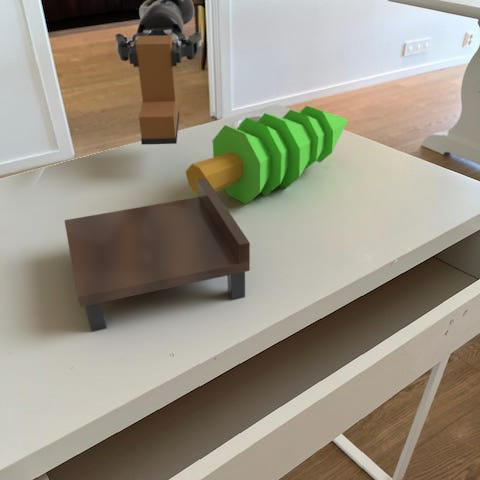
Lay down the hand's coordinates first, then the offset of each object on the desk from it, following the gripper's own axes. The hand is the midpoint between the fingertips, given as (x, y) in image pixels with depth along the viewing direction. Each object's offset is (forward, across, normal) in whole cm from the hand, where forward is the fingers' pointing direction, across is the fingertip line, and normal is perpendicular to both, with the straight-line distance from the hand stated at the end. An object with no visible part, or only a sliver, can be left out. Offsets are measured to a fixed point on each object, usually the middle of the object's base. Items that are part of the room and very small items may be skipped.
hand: (154, 59), depth 75 cm
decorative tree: (+9, +18, +16) cm, 26 cm away
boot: (+1, 0, +10) cm, 10 cm away
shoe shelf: (+32, +1, +16) cm, 35 cm away
